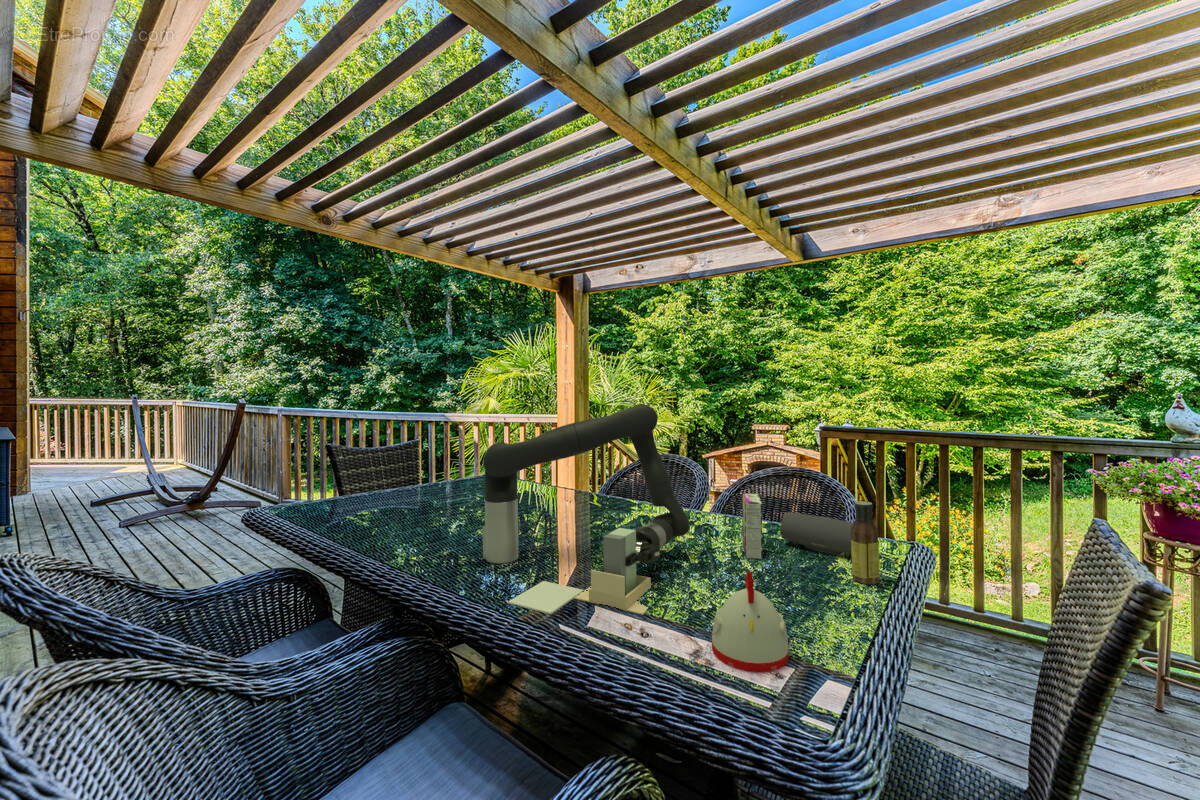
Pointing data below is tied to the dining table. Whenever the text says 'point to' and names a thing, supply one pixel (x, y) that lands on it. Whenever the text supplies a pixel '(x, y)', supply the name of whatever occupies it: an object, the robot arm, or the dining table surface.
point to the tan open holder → (615, 591)
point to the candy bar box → (752, 526)
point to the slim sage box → (620, 555)
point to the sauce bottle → (865, 545)
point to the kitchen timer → (750, 632)
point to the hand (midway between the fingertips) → (617, 560)
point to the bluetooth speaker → (817, 532)
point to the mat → (546, 597)
